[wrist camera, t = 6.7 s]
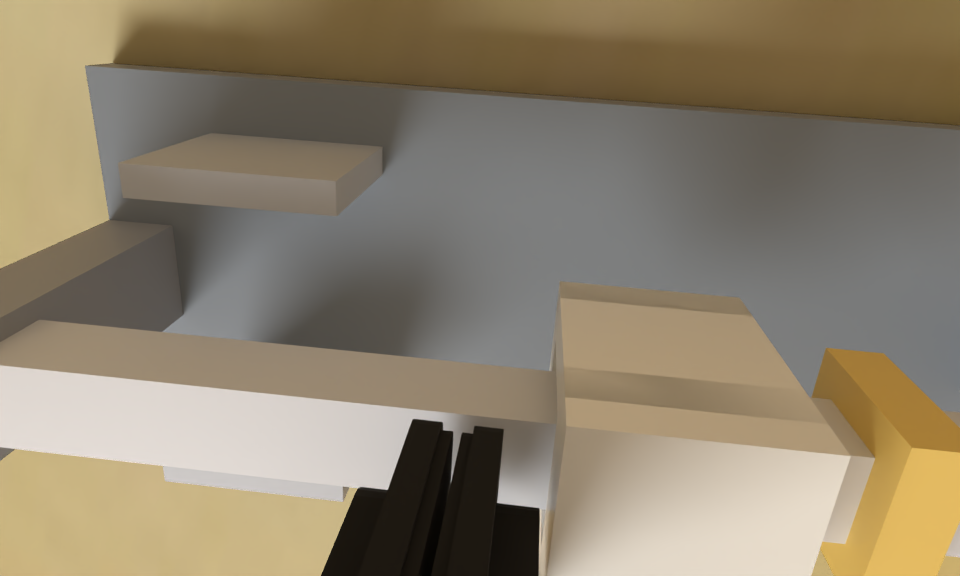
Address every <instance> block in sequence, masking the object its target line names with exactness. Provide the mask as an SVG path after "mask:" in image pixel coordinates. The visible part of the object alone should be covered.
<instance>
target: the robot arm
mask: <svg viewBox="0 0 960 576" xmlns="http://www.w3.org/2000/svg"><path fill="white" fill-rule="evenodd" d="M503 435H504V429H501V428H492V427H483V426H474V431H473V433H464V432H462V435H461V439H460V444H459V448H458V453H457V458H456V462H455V467H454V472H453V476H452V481H451V469H452V452H453V431H446V430H443V422H438V421H429V420H420V419H413V420H412V422H411V425H410V427H409V430H408V433H407V436H406V439H405V442H404V445H403V448H402V450H401V453H400V456H399V459H398V462H397V465H396V468H395V470H394V473H393V476H392V479H391V482H390V485H389V488H388V490H384V489H375V488H367V487H360V488H358V489H357V491H356V493H355V495H354V498H353V500H352V502H351V505H350V507H349V510H348V512H347V514H346V517H345V519H344V522H343V524H342V526H341V529H340V531H339V534H338V536H337V538H336V541H335V543H334V546H333V548H332V550H331V553H330V555H329V558H328V560H327V563H326V565H325V567H324V570H323V572H322V575H321V576H539V530H540V509H539V508H534V507H526V506H518V505H509V504H501V503H497V500H498V489H499V478H500V467H501V457H502V446H503Z"/></svg>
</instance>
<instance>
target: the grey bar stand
mask: <svg viewBox="0 0 960 576" xmlns="http://www.w3.org/2000/svg"><path fill="white" fill-rule="evenodd" d="M85 68H86V74H87V81H88V87H89V93H90V100H91V106H92V112H93V118H94V125H95V131H96V137H97V144H98V150H99V156H100V162H101V169H102V175H103V181H104V188H105V194H106V200H107V206H108V213H109V219H110V220H108V221H106V222H104V223H102V224H100V225H97V226H95V227H93V228H91V229H88V230H86V231H84V232H82V233H79V234H77V235H75V236H73V237H70V238H68V239H66V240H64V241H61V242H59V243H57V244H55V245H52V246H50V247H48V248H46V249H43V250H41V251H39V252H37V253H34V254H32V255H30V256H28V257H26V258H23V259H21V260H19V261H17V262H14V263H12V264H10V265H8V266H5V267H3V268H1V269H0V461H1V460H2V459H3V458H4V457H6V456H7V455H8V454H9V453H11V452H12V451H13V450H14V449H20V450H29V451H37V452H46V453H55V454H64V455H72V456H81V457H90V458H98V459H107V460H116V461H125V462H133V463H142V464H151V465H160V466H163V470H164V476H165V481H168V482H177V483H185V484H194V485H203V486H211V487H220V488H228V489H237V490H246V491H254V492H263V493H271V494H280V495H289V496H297V497H306V498H314V499H323V500H332V501H340V502H343V501H344V498H345V496H346V494H347V491H348V489H349V487H351V488H360V487H367V488H375V489H384V490H388V488H389V485H390V482H391V479H392V476H393V473H394V470H395V468H396V465H397V462H398V459H399V456H400V453H401V450H402V448H403V445H404V442H405V439H406V436H407V433H408V430H409V427H410V425H411V422H412V420H413V419H420V420H429V421H438V422H443V430H446V431H453V452H452V469H451V481H452V476H453V472H454V467H455V462H456V458H457V453H458V448H459V444H460V439H461V435H462V432H464V433H473V431H474V426H483V427H492V428H501V429H504V435H503V446H502V457H501V467H500V478H499V489H498V500H497V503H501V504H509V505H518V506H526V507H534V508H539V509H543V510H546V504H547V496H548V488H549V480H550V472H551V464H552V456H553V448H554V440H555V432H556V424H557V377H556V372H554V371H549V370H550V361H551V352H552V344H553V335H554V326H555V318H556V309H557V300H558V292H559V283H560V281H563V282H574V283H585V284H596V285H607V286H618V287H628V288H639V289H650V290H661V291H672V292H683V293H694V294H705V295H716V296H727V297H738V298H740V299H741V301H742V302H743V303H744V305H745V306H746V308H747V309H748V311H749V312H750V313H751V315H752V316H753V318H754V319H755V320H756V322H757V323H758V325H759V326H760V328H761V329H762V330H763V332H764V333H765V335H766V336H767V338H768V339H769V340H770V342H771V343H772V345H773V346H774V348H775V349H776V350H777V352H778V353H779V355H780V356H781V358H782V359H783V360H784V362H785V363H786V365H787V366H788V367H789V369H790V370H791V372H792V373H793V375H794V376H795V377H796V379H797V380H798V382H799V383H800V385H801V386H802V387H803V389H804V390H805V392H806V393H807V395H808V396H809V397H810V399H811V400H812V402H813V403H814V404H815V406H816V407H817V409H818V410H819V412H820V413H821V414H822V416H823V417H824V419H825V420H826V422H827V423H828V424H829V426H830V427H831V429H832V430H833V432H834V433H835V434H836V436H837V437H838V439H839V440H840V442H841V443H842V444H843V446H844V447H845V449H846V450H847V451H848V453H849V454H850V456H851V457H850V460H849V463H848V466H847V469H846V472H845V475H844V478H843V481H842V484H841V487H840V490H839V493H838V496H837V499H836V502H835V505H834V508H833V511H832V514H831V517H830V520H829V523H828V526H827V529H826V532H825V535H824V538H823V541H822V544H821V547H820V549H821V551H822V553H823V555H824V557H825V559H826V561H827V563H828V565H829V567H830V569H831V571H832V573H833V574H834V576H937V574H938V572H939V569H940V567H941V565H942V562H943V560H944V558H945V556H953V557H960V125H947V124H933V123H920V122H906V121H892V120H879V119H865V118H851V117H838V116H824V115H810V114H797V113H783V112H769V111H756V110H742V109H728V108H715V107H701V106H687V105H674V104H660V103H646V102H633V101H619V100H605V99H592V98H578V97H564V96H551V95H537V94H523V93H510V92H496V91H482V90H468V89H455V88H441V87H427V86H414V85H400V84H386V83H373V82H359V81H345V80H332V79H318V78H304V77H291V76H277V75H263V74H250V73H236V72H222V71H209V70H195V69H181V68H168V67H154V66H140V65H127V64H113V63H110V64H99V65H88V66H85Z"/></svg>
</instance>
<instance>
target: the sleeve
mask: <svg viewBox="0 0 960 576" xmlns="http://www.w3.org/2000/svg"><path fill="white" fill-rule="evenodd" d="M549 371H554V372H556V377H557V424H556V432H555V440H554V448H553V456H552V464H551V472H550V480H549V488H548V496H547V504H546V510H543V509H540V530H539V576H811V574H812V571H813V568H814V565H815V562H816V559H817V556H818V553H819V550H820V547H821V544H822V541H823V538H824V535H825V532H826V529H827V526H828V523H829V520H830V517H831V514H832V511H833V508H834V505H835V502H836V499H837V496H838V493H839V490H840V487H841V484H842V481H843V478H844V475H845V472H846V469H847V466H848V463H849V460H850V457H851V456H850V454H849V453H848V451H847V450H846V449H845V447H844V446H843V444H842V443H841V442H840V440H839V439H838V437H837V436H836V434H835V433H834V432H833V430H832V429H831V427H830V426H829V424H828V423H827V422H826V420H825V419H824V417H823V416H822V414H821V413H820V412H819V410H818V409H817V407H816V406H815V404H814V403H813V402H812V400H811V399H810V397H809V396H808V395H807V393H806V392H805V390H804V389H803V387H802V386H801V385H800V383H799V382H798V380H797V379H796V377H795V376H794V375H793V373H792V372H791V370H790V369H789V367H788V366H787V365H786V363H785V362H784V360H783V359H782V358H781V356H780V355H779V353H778V352H777V350H776V349H775V348H774V346H773V345H772V343H771V342H770V340H769V339H768V338H767V336H766V335H765V333H764V332H763V330H762V329H761V328H760V326H759V325H758V323H757V322H756V320H755V319H754V318H753V316H752V315H751V313H750V312H749V311H748V309H747V308H746V306H745V305H744V303H743V302H742V301H741V299H740V298H738V297H727V296H716V295H705V294H694V293H683V292H672V291H661V290H650V289H639V288H628V287H618V286H607V285H596V284H585V283H574V282H563V281H560V283H559V292H558V300H557V309H556V318H555V326H554V335H553V344H552V352H551V361H550V370H549Z"/></svg>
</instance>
